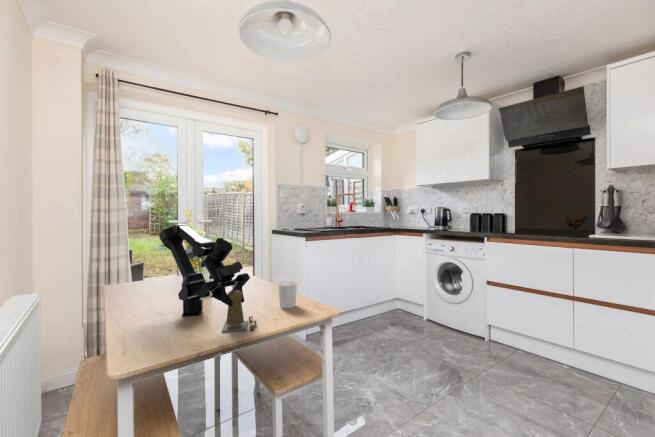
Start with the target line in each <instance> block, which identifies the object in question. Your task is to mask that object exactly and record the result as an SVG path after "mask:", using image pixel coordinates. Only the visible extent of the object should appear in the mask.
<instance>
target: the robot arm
mask: <svg viewBox="0 0 655 437" xmlns="http://www.w3.org/2000/svg"><path fill="white" fill-rule="evenodd" d="M158 236H159V240H160V241H161V243H162V245H163V246H164V247H165V248H167V249H168V250H170V252H171V254H172V256H173V258H174V261H175V264H176V265H177V267H178V269H179V272H180V275H181V277H182V281H181V289H180V290H179V292H178V295H177V296H178V300H180V301H182V314H181V316H182V317H185V316H186V317H187V316H188V317H189V316H199V315H201V313H202V312H203V311H204V300H203V299H205V298H209V297H210V298H214V299H215V300H217V301H219V302H222V303H223V304H225V305H226V306H227V307H228V306H230V307H232V305H233V304H232V302H231V300H230V298H229V296H228V292H227V291H226V288H227V287H231V288H232V289H231V290H230V291H234V290H239V291H241V292H242V294H243V297H242V299H241V304H243V303H244V302H245V297H244V291H243V286H245V285H246V284H247V282H248V281H249V280H250V279H251V277H250V275H249V273H247V272H244V273H241V270H243V264H242V263H241V262H240V261H239V260H238V261H235V262H233V263H232V264H228V265H224V264H225V263H223V262H224V261H225V260H226V258H228V256H229V255H230V253H231V252H232V250H233V248H234V247H233V245H232V243H230V242H229V241H227V240H226V239H224V238H223V237H217V238H216V241H214V240H211V239H210V238H206V237H202V236H201V235H200V234H198V233H197V232H196V231H194V229H192V228H191V227H190V226H189V224H186V223H177V224H174V225H173V226H170V227H168V228H165V229H162V231H161V232H160V233H159V234H158ZM184 241H185V242H186V243H188V245H190V246H191V249H192V250H191V251H192V253H193V254H194V255H195V256H196V257H197V258H204V257H205V258H204V259H202V260H201V261H202V262H201V264H200V268H206V271H207V272H208V274H209V277H208V279H209V280H210V281H206V279H205V276H204V274H203V273H202V272H196V271H195V268H194V266H193V264H192V262H191V260H190V257H189V255H188V254H187V251H186V249H185V247H184V245H183V242H184ZM238 273H239V274H238ZM235 274H238V275H237V276H236V275H235ZM233 278H234V279H233Z"/></svg>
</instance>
